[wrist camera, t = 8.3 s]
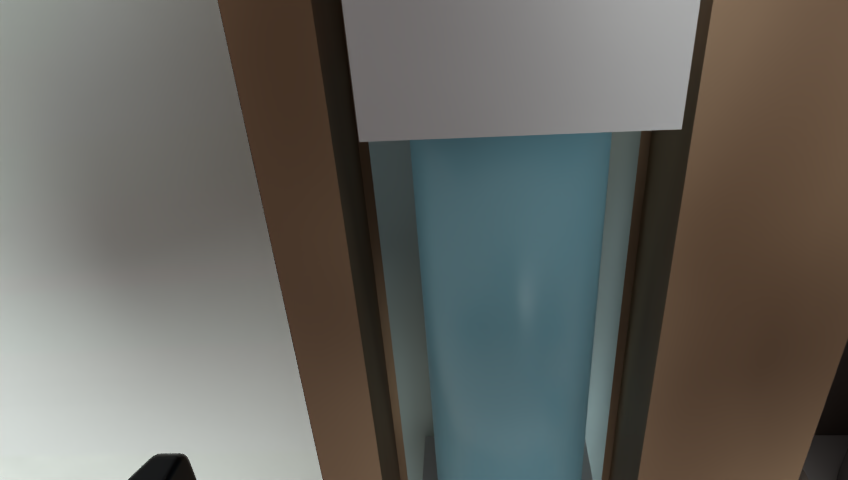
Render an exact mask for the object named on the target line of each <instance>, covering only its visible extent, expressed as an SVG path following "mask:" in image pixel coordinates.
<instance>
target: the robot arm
mask: <svg viewBox="0 0 848 480" xmlns="http://www.w3.org/2000/svg"><path fill="white" fill-rule="evenodd" d="M128 480H196V477H195V475H194V472H193V469H192V467H191V464H190V461H189V459H188V457H187V456H185V455H184V454H181V453H175V454H157V455H155V456H153V457H152V458H150V459H149V460H148V461H147V462H146V463H145V464H144V465H143V466H142V467H141V468H140V469H139V470H138V471H136V472H135V473H134V474H133V475H132V476H131V477H130V478H129V479H128Z"/></svg>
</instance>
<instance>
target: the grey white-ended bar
mask: <svg viewBox="0 0 848 480" xmlns="http://www.w3.org/2000/svg"><path fill="white" fill-rule="evenodd" d="M798 480H848V435H814V436H813V439H812V442H811V445H810V448H809V451H808V454H807V456H806V459H805V462H804V465H803V468H802V471H801V474H800V476H799V479H798Z"/></svg>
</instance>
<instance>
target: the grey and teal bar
mask: <svg viewBox="0 0 848 480" xmlns="http://www.w3.org/2000/svg"><path fill="white" fill-rule="evenodd" d="M700 1H701V0H342V8H343V16H344V24H345V32H346V40H347V48H348V56H349V64H350V72H351V79H352V87H353V95H354V103H355V111H356V119H357V127H358V135H359V142H374V141H399V140H410V151H411V163H412V175H413V187H414V199H415V211H416V223H417V235H418V247H419V259H420V271H421V283H422V295H423V307H424V319H425V331H426V343H427V355H428V367H429V379H430V391H431V403H432V415H433V427H434V437H425V448H424V464H423V480H593V478H592V473H591V468H590V462H589V457H588V452H587V446H586V441H585V432H586V421H587V410H588V398H589V387H590V376H591V364H592V353H593V342H594V331H595V319H596V308H597V297H598V285H599V274H600V263H601V251H602V240H603V229H604V218H605V206H606V195H607V184H608V172H609V161H610V150H611V138H612V132H626V131H652V130H677V129H682V123H683V117H684V110H685V103H686V96H687V89H688V83H689V76H690V69H691V62H692V55H693V49H694V42H695V35H696V28H697V21H698V14H699V8H700Z"/></svg>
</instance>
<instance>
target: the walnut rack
mask: <svg viewBox="0 0 848 480" xmlns="http://www.w3.org/2000/svg"><path fill="white" fill-rule="evenodd" d="M218 4H219V9H220V14H221V18H222V23H223V27H224V32H225V36H226V41H227V45H228V50H229V55H230V59H231V64H232V68H233V73H234V77H235V82H236V86H237V91H238V96H239V100H240V105H241V109H242V114H243V118H244V123H245V127H246V132H247V137H248V141H249V146H250V150H251V155H252V159H253V164H254V168H255V173H256V178H257V182H258V187H259V191H260V196H261V200H262V205H263V209H264V214H265V219H266V223H267V228H268V232H269V237H270V241H271V246H272V250H273V255H274V260H275V264H276V269H277V273H278V278H279V282H280V287H281V291H282V296H283V301H284V305H285V310H286V314H287V319H288V323H289V328H290V332H291V337H292V342H293V346H294V351H295V355H296V360H297V364H298V369H299V373H300V378H301V383H302V387H303V392H304V396H305V401H306V405H307V410H308V414H309V419H310V424H311V428H312V433H313V437H314V442H315V446H316V451H317V455H318V460H319V465H320V469H321V474H322V478H323V480H423V464H424V448H425V437H434V427H433V415H432V403H431V391H430V379H429V367H428V355H427V343H426V331H425V319H424V307H423V295H422V283H421V271H420V259H419V247H418V235H417V223H416V211H415V199H414V187H413V175H412V163H411V151H410V140H399V141H374V142H359V135H358V127H357V119H356V111H355V103H354V95H353V87H352V79H351V72H350V64H349V56H348V48H347V40H346V32H345V24H344V16H343V8H342V0H218ZM814 435H848V0H701V1H700V8H699V14H698V21H697V28H696V35H695V42H694V49H693V55H692V62H691V69H690V76H689V83H688V89H687V96H686V103H685V110H684V117H683V123H682V129H677V130H652V131H626V132H612V138H611V150H610V161H609V172H608V184H607V195H606V206H605V218H604V229H603V240H602V251H601V263H600V274H599V285H598V297H597V308H596V319H595V331H594V342H593V353H592V364H591V376H590V387H589V398H588V410H587V421H586V432H585V441H586V446H587V452H588V457H589V462H590V468H591V473H592V478H593V480H798V479H799V476H800V474H801V471H802V468H803V465H804V462H805V459H806V456H807V454H808V451H809V448H810V445H811V442H812V439H813V436H814Z"/></svg>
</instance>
